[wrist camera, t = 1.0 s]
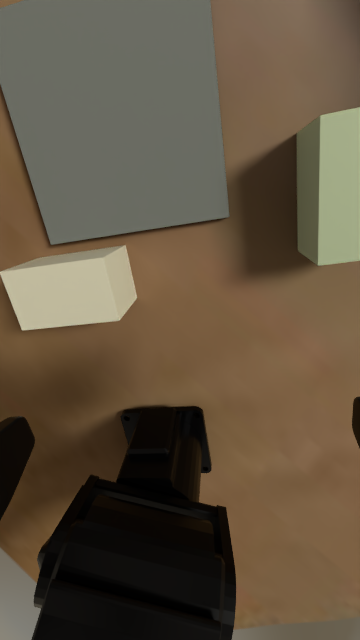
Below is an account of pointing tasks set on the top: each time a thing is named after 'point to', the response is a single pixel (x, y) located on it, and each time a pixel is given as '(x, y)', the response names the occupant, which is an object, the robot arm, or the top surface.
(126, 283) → the brick cream
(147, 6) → the coaster
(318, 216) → the brick sage
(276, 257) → the top surface
